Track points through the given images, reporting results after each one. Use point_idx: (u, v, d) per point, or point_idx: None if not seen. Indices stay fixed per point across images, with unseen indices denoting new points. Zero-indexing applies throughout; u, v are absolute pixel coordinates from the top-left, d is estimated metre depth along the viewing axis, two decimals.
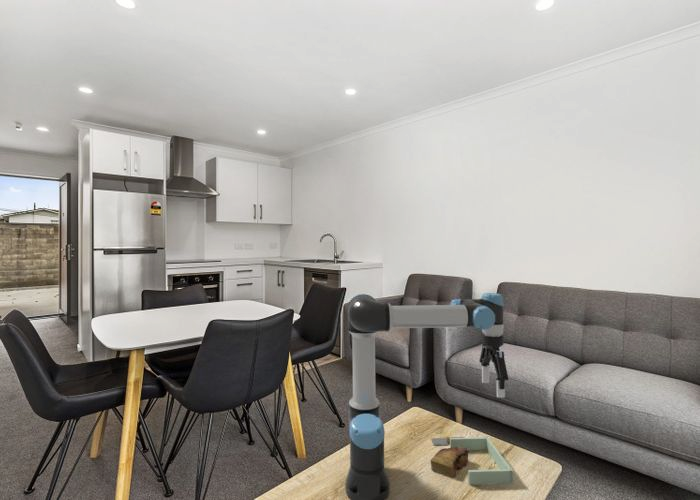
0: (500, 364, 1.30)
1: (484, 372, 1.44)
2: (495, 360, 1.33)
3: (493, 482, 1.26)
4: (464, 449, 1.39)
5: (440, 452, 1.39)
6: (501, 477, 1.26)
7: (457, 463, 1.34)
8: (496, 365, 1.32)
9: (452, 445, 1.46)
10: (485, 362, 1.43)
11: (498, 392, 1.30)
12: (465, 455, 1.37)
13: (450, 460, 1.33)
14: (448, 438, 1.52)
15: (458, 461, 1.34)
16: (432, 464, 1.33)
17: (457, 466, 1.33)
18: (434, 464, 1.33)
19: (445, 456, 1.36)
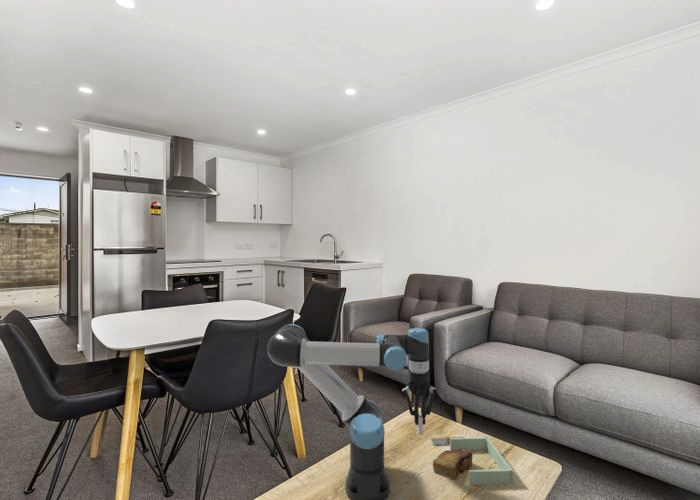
0: None
1: None
2: (414, 396, 1.36)
3: (493, 482, 1.26)
4: (468, 452, 1.37)
5: (443, 454, 1.37)
6: (501, 477, 1.26)
7: (459, 465, 1.32)
8: None
9: (452, 445, 1.46)
10: (421, 407, 1.36)
11: (417, 426, 1.37)
12: (469, 458, 1.35)
13: (452, 462, 1.31)
14: (448, 438, 1.52)
15: (461, 464, 1.33)
16: (434, 466, 1.33)
17: (460, 469, 1.32)
18: (436, 466, 1.32)
19: (447, 458, 1.34)
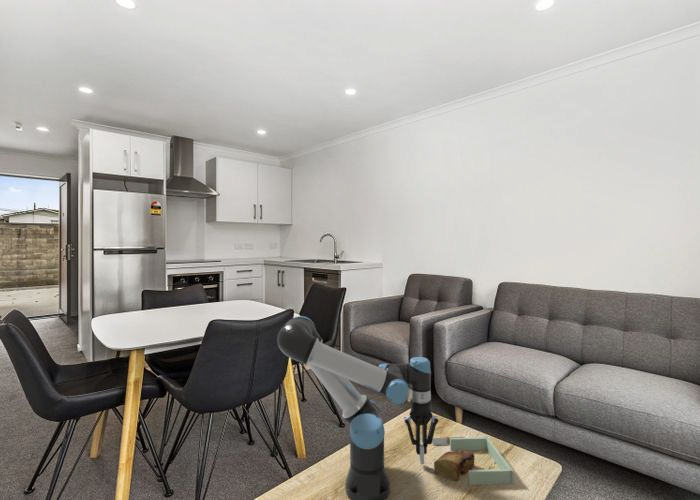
0: (408, 429, 1.36)
1: None
2: (415, 425, 1.37)
3: (493, 482, 1.26)
4: (470, 453, 1.36)
5: (445, 455, 1.37)
6: (501, 477, 1.26)
7: (461, 467, 1.31)
8: (415, 430, 1.37)
9: (452, 445, 1.46)
10: (422, 436, 1.36)
11: None
12: (470, 459, 1.34)
13: (454, 464, 1.31)
14: (448, 438, 1.52)
15: (462, 465, 1.32)
16: (435, 466, 1.32)
17: (461, 470, 1.31)
18: (437, 467, 1.31)
19: (449, 459, 1.34)
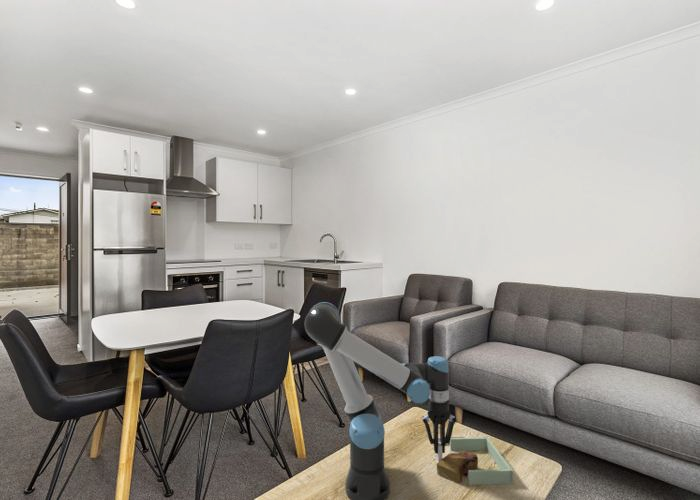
0: (426, 428, 1.37)
1: None
2: (433, 424, 1.37)
3: (493, 482, 1.26)
4: (473, 455, 1.35)
5: (448, 456, 1.36)
6: (501, 477, 1.26)
7: (464, 469, 1.30)
8: (433, 429, 1.37)
9: (452, 445, 1.46)
10: (440, 435, 1.37)
11: None
12: (474, 461, 1.32)
13: (456, 465, 1.30)
14: None
15: (465, 467, 1.31)
16: (438, 468, 1.31)
17: (464, 472, 1.30)
18: (440, 469, 1.31)
19: (452, 460, 1.33)
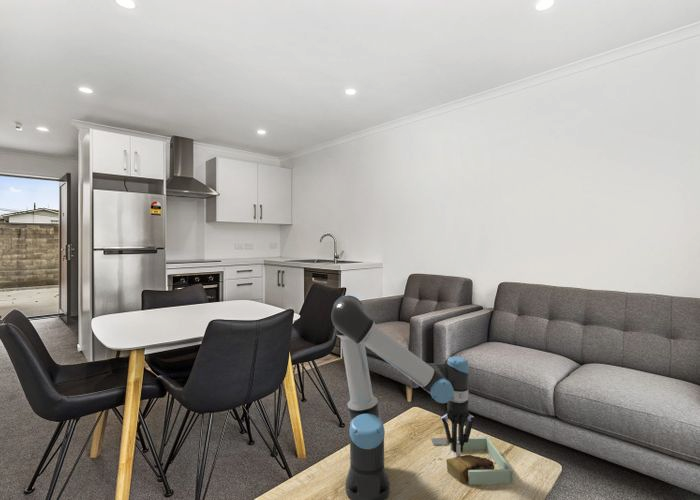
0: (444, 427, 1.37)
1: None
2: (452, 423, 1.38)
3: (493, 482, 1.26)
4: (489, 462, 1.30)
5: (463, 457, 1.35)
6: (501, 477, 1.26)
7: None
8: None
9: None
10: (458, 434, 1.38)
11: (454, 453, 1.38)
12: (486, 468, 1.28)
13: (464, 466, 1.29)
14: None
15: None
16: (447, 464, 1.33)
17: None
18: (449, 465, 1.32)
19: (463, 460, 1.32)
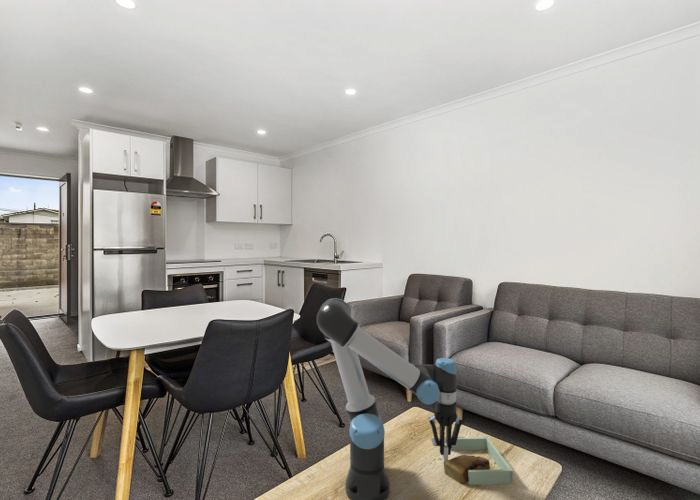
0: (432, 429, 1.37)
1: None
2: (440, 426, 1.37)
3: (493, 482, 1.26)
4: (485, 460, 1.32)
5: (458, 457, 1.35)
6: (501, 477, 1.26)
7: None
8: None
9: (452, 445, 1.46)
10: (446, 437, 1.37)
11: (442, 456, 1.37)
12: (483, 466, 1.30)
13: (463, 467, 1.29)
14: None
15: None
16: (444, 466, 1.32)
17: None
18: (446, 467, 1.31)
19: (460, 461, 1.32)
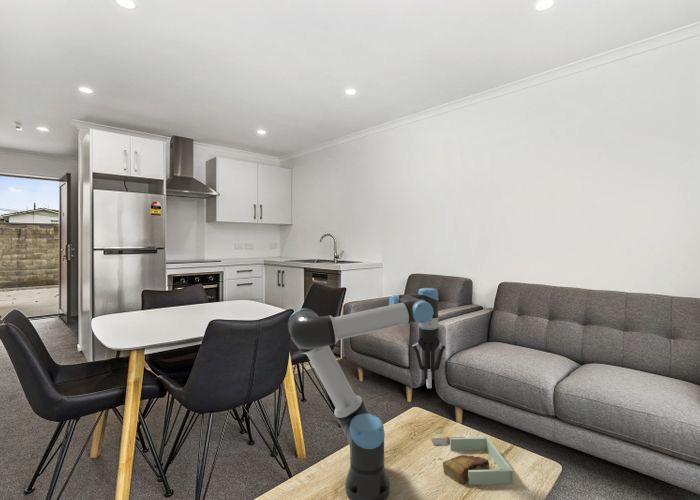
0: (416, 355, 1.43)
1: None
2: (423, 352, 1.43)
3: (493, 482, 1.26)
4: (484, 460, 1.31)
5: (458, 457, 1.35)
6: (501, 477, 1.26)
7: None
8: None
9: (452, 445, 1.46)
10: (430, 362, 1.43)
11: (426, 381, 1.44)
12: (483, 466, 1.29)
13: (462, 467, 1.29)
14: (448, 438, 1.52)
15: None
16: (444, 466, 1.32)
17: None
18: (446, 467, 1.31)
19: (459, 461, 1.32)
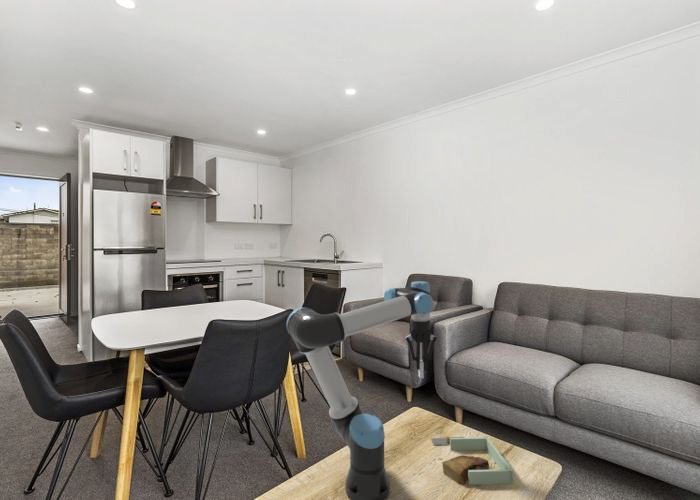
0: None
1: None
2: None
3: (493, 482, 1.26)
4: (484, 461, 1.31)
5: (457, 458, 1.35)
6: (501, 477, 1.26)
7: None
8: None
9: (452, 445, 1.46)
10: (422, 353, 1.48)
11: None
12: (482, 467, 1.29)
13: (461, 467, 1.29)
14: (448, 438, 1.52)
15: None
16: (443, 466, 1.32)
17: None
18: (445, 467, 1.31)
19: (459, 462, 1.32)
